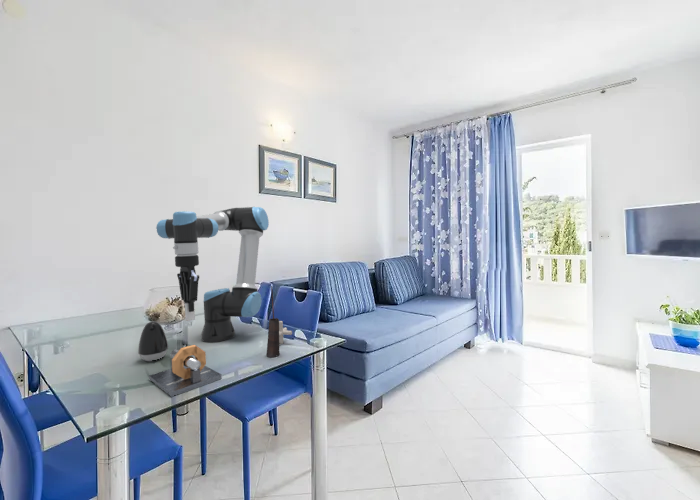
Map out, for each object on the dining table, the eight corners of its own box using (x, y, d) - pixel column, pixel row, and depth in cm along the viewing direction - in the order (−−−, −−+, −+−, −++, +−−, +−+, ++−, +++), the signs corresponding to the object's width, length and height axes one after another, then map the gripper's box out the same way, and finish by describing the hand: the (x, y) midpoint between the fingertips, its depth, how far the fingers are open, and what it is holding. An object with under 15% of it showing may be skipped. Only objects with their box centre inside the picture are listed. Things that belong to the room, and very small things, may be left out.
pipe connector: (287, 347, 139) (286, 325, 138) (266, 346, 141) (265, 324, 140) (295, 340, 148) (295, 319, 148) (275, 339, 150) (275, 318, 150)
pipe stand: (149, 379, 110) (147, 354, 109) (196, 365, 122) (195, 342, 121) (171, 397, 97) (169, 368, 97) (221, 378, 109) (220, 353, 109)
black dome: (137, 366, 122) (135, 326, 121) (140, 357, 131) (138, 320, 130) (168, 360, 127) (166, 322, 126) (169, 352, 136) (167, 317, 135)
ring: (172, 381, 104) (171, 350, 103) (203, 370, 111) (202, 342, 111) (175, 382, 102) (173, 351, 102) (206, 372, 110) (205, 343, 110)
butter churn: (287, 358, 127) (285, 287, 125) (262, 361, 124) (260, 289, 123) (285, 350, 135) (283, 284, 134) (262, 353, 133) (259, 286, 131)
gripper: (168, 255, 116) (172, 319, 118) (183, 256, 108) (187, 325, 109) (189, 253, 122) (193, 315, 123) (205, 254, 113) (209, 320, 115)
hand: (190, 320), depth 116 cm, fingers closed
